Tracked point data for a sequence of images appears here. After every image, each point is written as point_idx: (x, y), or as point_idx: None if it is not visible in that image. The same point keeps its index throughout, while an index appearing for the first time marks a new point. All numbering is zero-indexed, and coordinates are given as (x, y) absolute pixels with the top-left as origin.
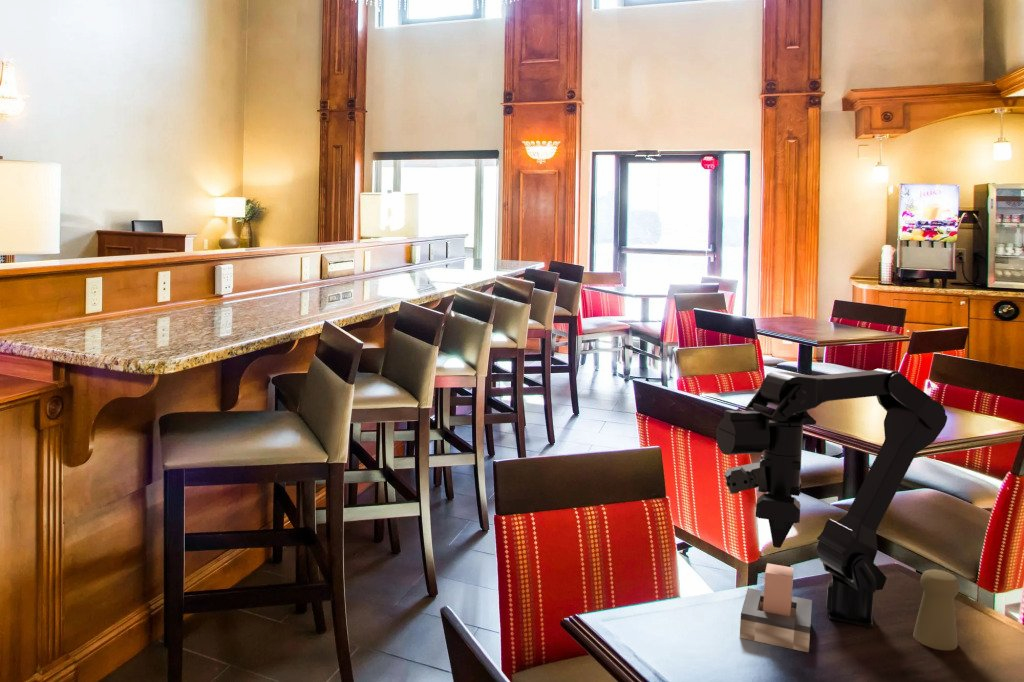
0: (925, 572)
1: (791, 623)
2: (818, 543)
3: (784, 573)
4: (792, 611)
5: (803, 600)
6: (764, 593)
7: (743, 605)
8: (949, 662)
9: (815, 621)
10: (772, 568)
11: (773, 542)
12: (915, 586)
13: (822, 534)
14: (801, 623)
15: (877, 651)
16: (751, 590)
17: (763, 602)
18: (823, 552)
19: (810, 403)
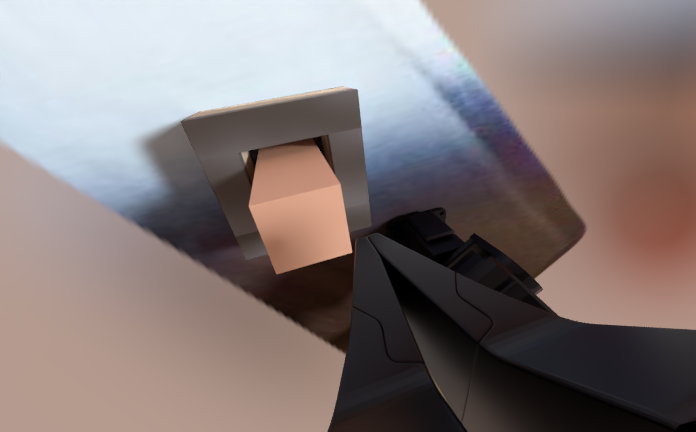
0: (440, 391)
1: (233, 231)
2: (504, 273)
3: (289, 250)
4: None
5: (360, 215)
6: (254, 178)
7: (235, 113)
8: (348, 333)
9: (370, 207)
10: (304, 212)
11: (355, 253)
12: (528, 265)
13: (526, 301)
14: (249, 244)
15: (326, 287)
16: (345, 104)
17: (255, 168)
18: (472, 279)
19: None
